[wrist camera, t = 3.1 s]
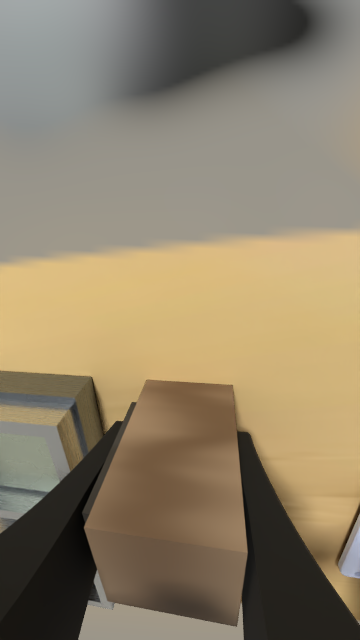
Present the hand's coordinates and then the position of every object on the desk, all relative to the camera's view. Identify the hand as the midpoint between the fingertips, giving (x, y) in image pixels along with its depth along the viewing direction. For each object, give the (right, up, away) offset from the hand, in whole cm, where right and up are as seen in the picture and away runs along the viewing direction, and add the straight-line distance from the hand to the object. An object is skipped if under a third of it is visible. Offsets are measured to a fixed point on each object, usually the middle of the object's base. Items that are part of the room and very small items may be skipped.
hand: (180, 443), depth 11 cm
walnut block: (0, +1, +1) cm, 2 cm away
